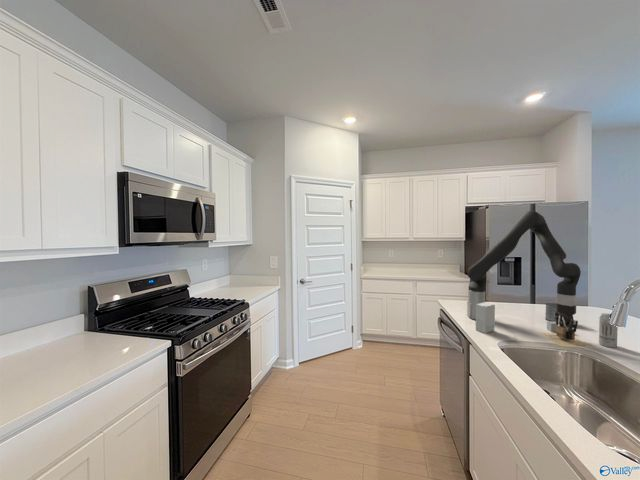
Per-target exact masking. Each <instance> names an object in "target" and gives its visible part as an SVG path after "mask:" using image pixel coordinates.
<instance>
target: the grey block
mask: <svg viewBox="0 0 640 480" xmlns="http://www.w3.org/2000/svg"><path fill="white" fill-rule="evenodd" d="M557 326H558V325H556V322H551V321H547V320H546V330H547V331H548V332H549V333H557Z"/></svg>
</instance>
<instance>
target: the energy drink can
mask: <svg viewBox="0 0 640 480" xmlns="http://www.w3.org/2000/svg"><path fill="white" fill-rule="evenodd" d="M610 314H611V313H604V312H603V313H601V315H600V316H599V317H598V319H599V321H598V324H599V325H598V326H599V327H598V344H600V345H601V346H603V347H605V348H609V349H610V348H611V349H615V348H616V347H618V327H616V326H614V325H611V324H610V323H609V322H608V321H609V317H610Z"/></svg>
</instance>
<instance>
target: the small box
mask: <svg viewBox="0 0 640 480" xmlns="http://www.w3.org/2000/svg"><path fill="white" fill-rule="evenodd" d="M555 313H559V312H557V311H556V302H555V303H554V302H552V303H551V302H545V321H546V322H547V321H551V322H556V321H555ZM558 318H559V317H558ZM567 325H570V324H567Z"/></svg>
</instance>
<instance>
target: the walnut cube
mask: <svg viewBox="0 0 640 480" xmlns="http://www.w3.org/2000/svg"><path fill="white" fill-rule="evenodd" d="M568 329H569V327H568ZM575 333H576V332H572V339H566V327H565V326H557V332H555V334H556V336H558V337H560V338H561V339H566V340H575V338H576V336H575V335H576V334H575Z"/></svg>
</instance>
